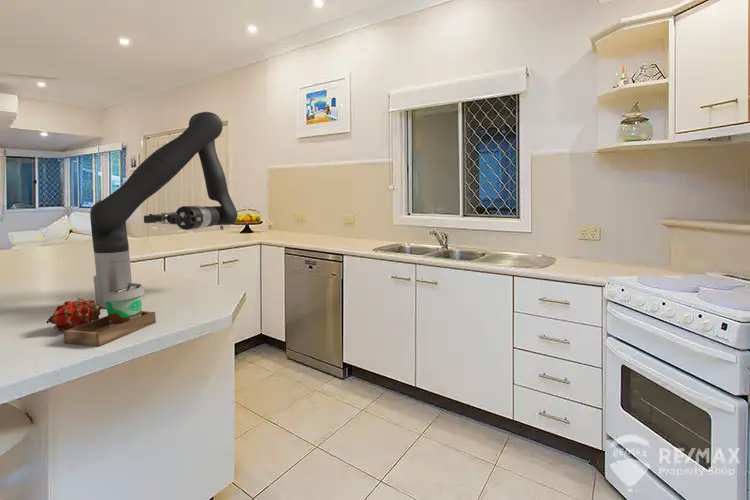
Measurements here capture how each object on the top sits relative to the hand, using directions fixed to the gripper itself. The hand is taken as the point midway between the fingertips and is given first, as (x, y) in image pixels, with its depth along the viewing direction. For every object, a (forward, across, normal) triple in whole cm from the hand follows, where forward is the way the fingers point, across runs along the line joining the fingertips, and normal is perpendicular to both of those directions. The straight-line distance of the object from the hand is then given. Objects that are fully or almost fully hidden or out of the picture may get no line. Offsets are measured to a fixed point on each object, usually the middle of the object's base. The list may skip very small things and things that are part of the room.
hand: (157, 219), depth 114 cm
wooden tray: (+17, -1, +28) cm, 33 cm away
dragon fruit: (+17, -12, +28) cm, 35 cm away
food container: (+13, +1, +27) cm, 30 cm away
